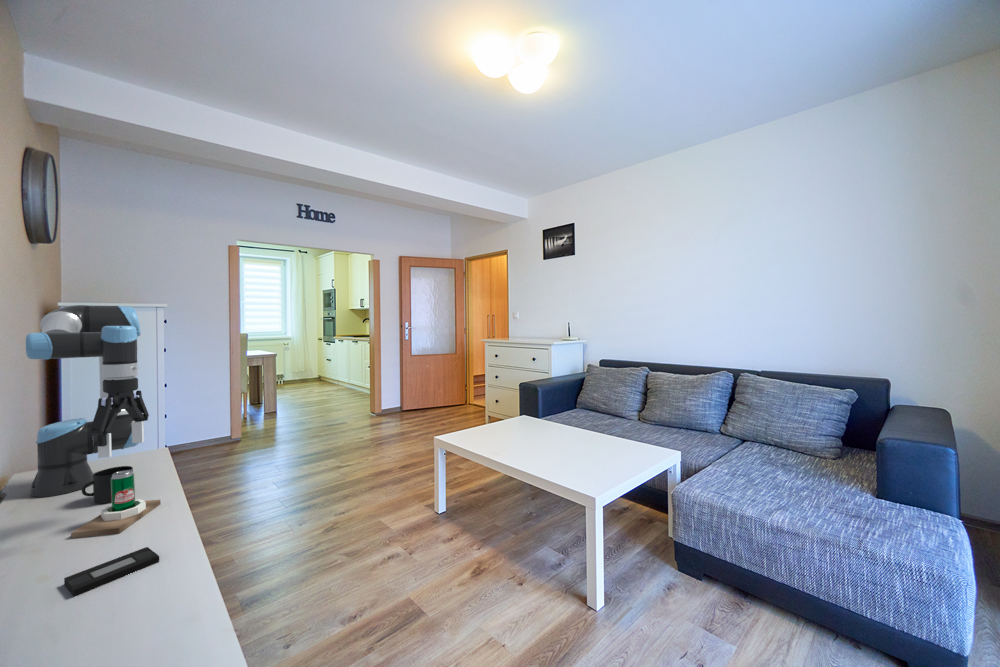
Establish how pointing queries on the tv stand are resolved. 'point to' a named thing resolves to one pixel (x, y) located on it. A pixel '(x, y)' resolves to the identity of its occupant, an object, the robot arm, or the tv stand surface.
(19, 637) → the tv stand surface
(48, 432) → the robot arm
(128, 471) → the soda can
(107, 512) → the socket ring
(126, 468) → the mug
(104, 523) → the walnut board
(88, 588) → the vhs tape
